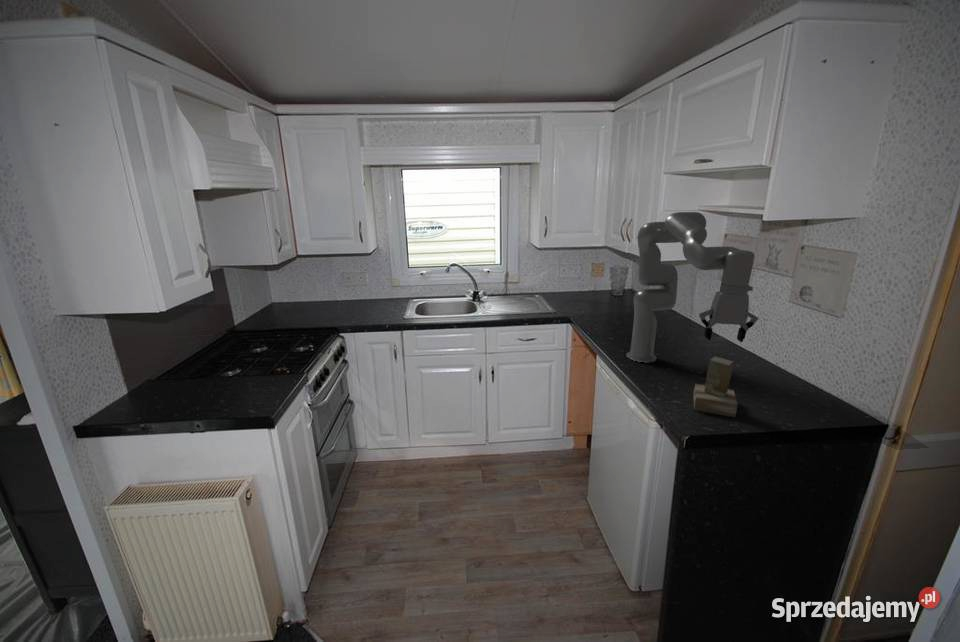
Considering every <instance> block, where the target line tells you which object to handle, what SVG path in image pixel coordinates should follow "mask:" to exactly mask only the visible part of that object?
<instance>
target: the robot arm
mask: <svg viewBox="0 0 960 642" xmlns="http://www.w3.org/2000/svg"><path fill="white" fill-rule="evenodd" d="M706 227H707V219H706V217H705V215H704V214H703V213H701V212H698V211H680V212H679V211H678V212H674V213H671V214H669V215H668V216H667V217H666V219H665V221H652V222H651V221H650V222H647V223H645V224H643V225H642V226H641V227H640V228H639V230H638V232H637V246H638V253H639V258H638V282H639V284H640V285H642V286H644V287H645V286H646V287H660V288H647V289H646V288H644V289H640V290H638V291H637V292H635V294H634V295H633V311H634V313H633V322H632V323H633V325H632V326H633V327H632V335H631V344H630V351H628V352H626V358H627V357H628V358H629V359H628V358H627V359H628V360H630V359H631V360H630V361H632V360H633V361H632V362H635V361H637V363H640V362H644V364H651V363H654V362H656V361H657V356H656V355H655V354H654V350H655V349H654V348H655V341H656V333H657V325H658V321H657V318H656V315H655V314H654V312H656V311H657V312H658V311H670V310H672V309H673V308H674V307H675V305H676V302H677V293H678V280H679V278H678V276H679V275H678V270H677V267H676V266H675V265H673V264H672V263H667V262H663V263H662V252H661V249H660V248H659V246H658V245H657V244H671V243H672V244H676V243H681V244H682V253H683V256H684V258H685V260H686V261H687V262H688V263H689V264H691V265H692V266H693V267H694V268H696V269H698V270H701V271H715V270H721V271H722V276H721V282H720V287H719V291H716V292H715V294H714V296H713V298H712V299H713V300H712V303H711V304H710V305H711V306H710V308H709V309H708V310H705V311H702V312H700V313H699V314H698V317H699V318H700V321H701V323H702V324H703V325H704V326H705V330H704V337H705V338H706V340H708V341H710V340H711V339H712V334H713V328H712V327H714V326H715V325H716V324H720V325H721V324H722V325H739V326H740V327H739V328H738V330H737V335H736V336H737V337H736V340H737V341H739V342H740V343H743V342H744V340H745V339H746V334H747V331H749V329H750V328H752V327H753V326H754V325H755V324H756V323H757V321H758V320H759V317H758V316H756V315H755V314H754V313H750V312H749V306H750V296H749V295H750V294H748V292H750V291H751V292H753V290H754V288H753V286H750V280H751V275H752V272H753V271H752V270H753V266H754V262H755V253H754V252H753V251H750V250H746V249H739V248H738V247H737V248H736V247H734V246H704V245H703V244H704V243H705V241H706V239H707V236H708V232H707V229H706ZM707 316H708V320H706V317H707ZM748 318H750V320H749V321H748ZM747 321H748V322H747ZM650 362H651V363H650Z"/></svg>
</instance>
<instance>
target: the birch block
mask: <svg viewBox="0 0 960 642" xmlns="http://www.w3.org/2000/svg"><path fill="white" fill-rule="evenodd" d="M704 389H705V384H699V383H694V389H693V394H692V398H693V410H695V411H698V412H704V413H709V414H710V413H711V414H715V415H719V416H726V417H730V416H731V417H730V418H736V416H737V415H736V414H737V410H738V402H737V398H736V397H737V396H736V394H735V390H734V389H730V388H728V392H727V394H726V395H725V396H724V397H720V396H717V395H713V394H711V393H708V392H705V391H704Z"/></svg>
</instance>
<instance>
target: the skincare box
mask: <svg viewBox="0 0 960 642" xmlns="http://www.w3.org/2000/svg"><path fill="white" fill-rule="evenodd" d="M734 362H735V361H732V360H728V359H725V358H723V357H719V356H715V355H714V356H713V357H712V358H711V359H709V363H708V369H707V374H706V378H705V382H704V383H705V384H704V385H705V389H704V391H705V392H708V393H711V394H713V395H717V396H720V397H724V396H725V395H726V394H727V392H728V389H729V386H730V382H731V378H732V373H733V372H732V371H733V369H734V368H733V367H734Z"/></svg>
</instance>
